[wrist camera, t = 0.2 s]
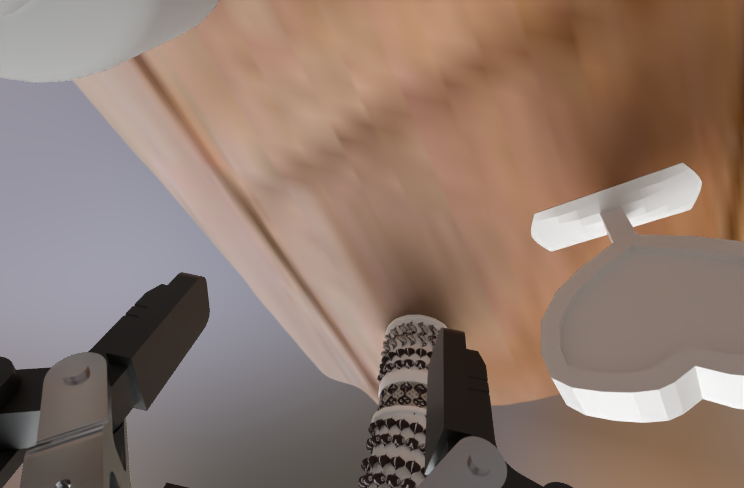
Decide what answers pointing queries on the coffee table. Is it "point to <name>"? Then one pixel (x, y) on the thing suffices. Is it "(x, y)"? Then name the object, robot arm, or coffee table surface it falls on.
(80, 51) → the jar
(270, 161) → the coffee table surface
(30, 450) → the robot arm
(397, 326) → the decorative candle
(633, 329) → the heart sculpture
